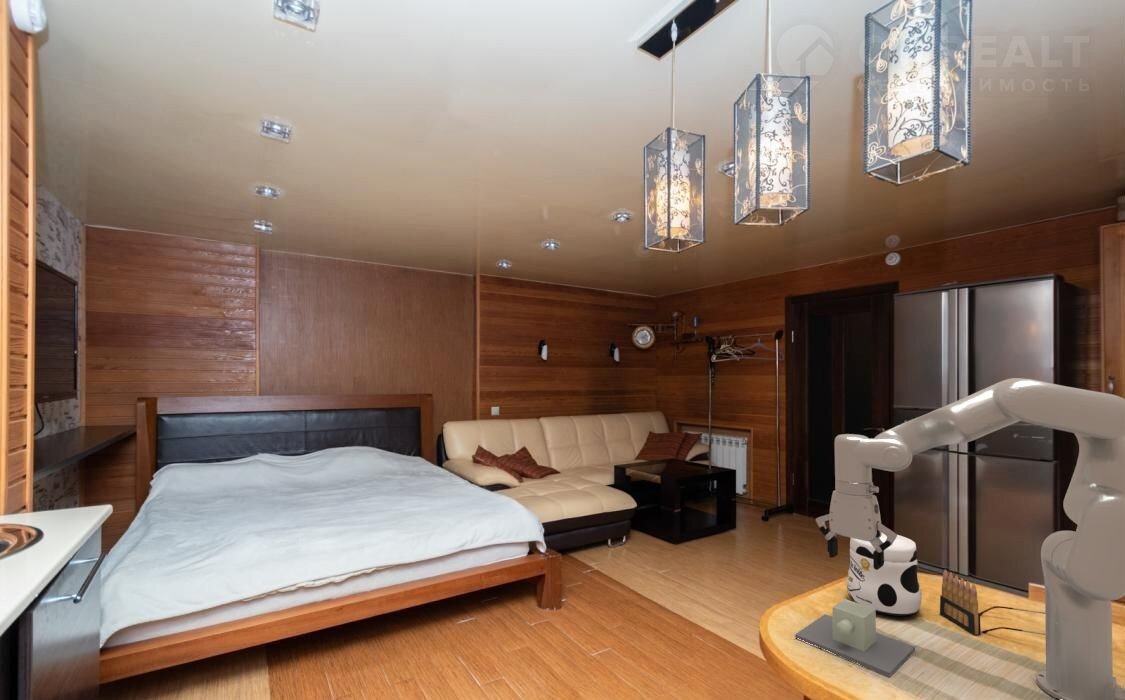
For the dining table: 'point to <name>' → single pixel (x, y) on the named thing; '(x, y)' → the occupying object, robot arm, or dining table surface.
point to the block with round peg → (854, 624)
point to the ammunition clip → (960, 603)
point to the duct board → (877, 657)
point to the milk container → (885, 577)
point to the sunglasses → (1006, 627)
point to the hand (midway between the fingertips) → (855, 562)
